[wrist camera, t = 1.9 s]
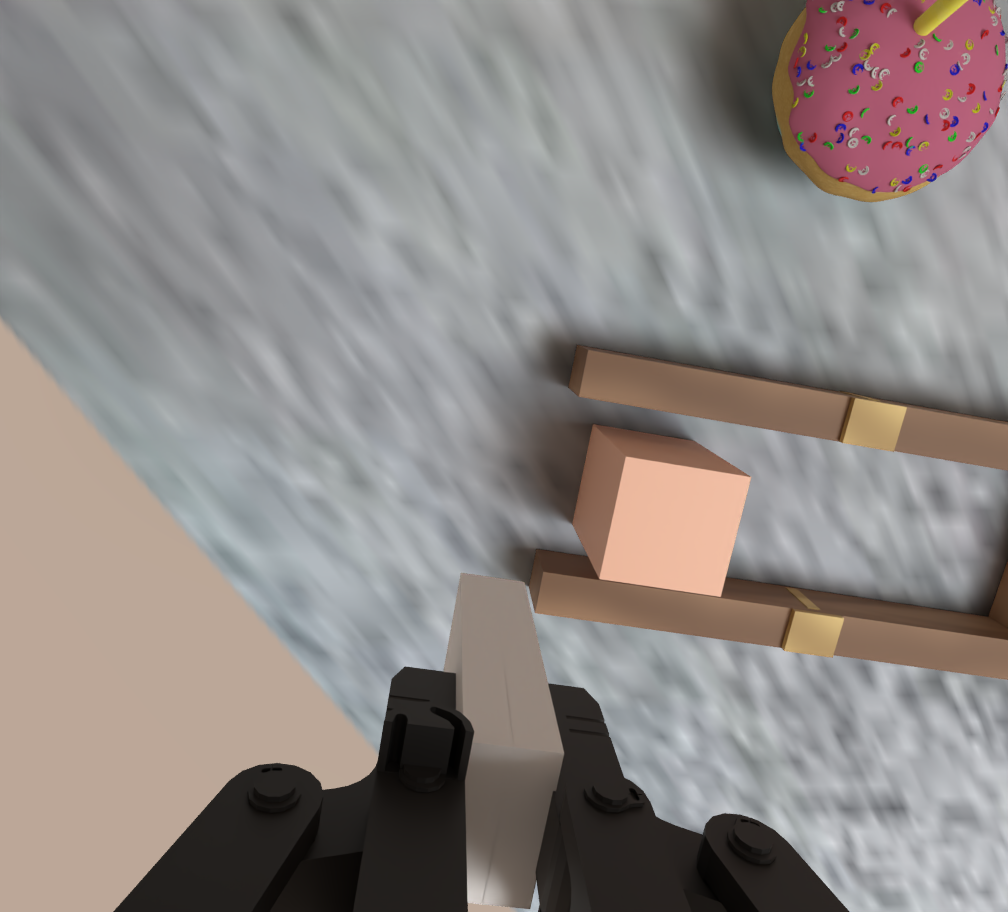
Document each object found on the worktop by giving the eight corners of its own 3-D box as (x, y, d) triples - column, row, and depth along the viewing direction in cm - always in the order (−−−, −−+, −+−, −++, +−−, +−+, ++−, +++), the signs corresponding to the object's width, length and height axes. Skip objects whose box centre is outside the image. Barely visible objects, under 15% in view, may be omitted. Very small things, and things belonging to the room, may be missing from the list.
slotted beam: (577, 343, 34) (589, 349, 31) (1089, 435, 36) (1150, 449, 33) (528, 587, 36) (535, 616, 33) (1011, 657, 39) (1061, 690, 36)
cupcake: (713, 38, 31) (865, -111, 20) (903, -31, 31) (1170, -222, 20) (763, 237, 33) (928, 210, 22) (942, 173, 33) (1206, 111, 21)
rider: (592, 423, 35) (625, 456, 28) (694, 440, 35) (751, 477, 28) (572, 524, 36) (599, 579, 29) (671, 539, 36) (720, 596, 29)
